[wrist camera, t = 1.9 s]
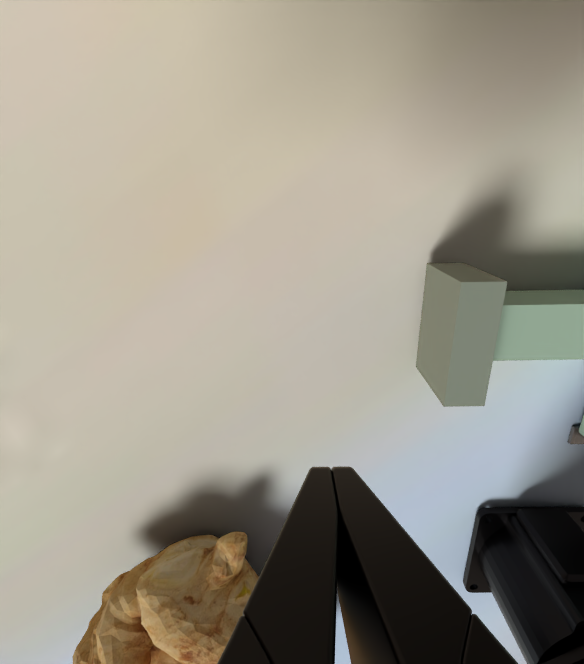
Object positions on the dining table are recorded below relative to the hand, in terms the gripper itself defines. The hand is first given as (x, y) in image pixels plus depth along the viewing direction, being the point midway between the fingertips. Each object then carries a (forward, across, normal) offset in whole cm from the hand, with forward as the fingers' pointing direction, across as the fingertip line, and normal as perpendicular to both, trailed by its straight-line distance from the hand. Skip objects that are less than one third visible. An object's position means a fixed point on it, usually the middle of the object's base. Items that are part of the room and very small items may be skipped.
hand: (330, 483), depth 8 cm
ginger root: (+11, +7, +19) cm, 23 cm away
